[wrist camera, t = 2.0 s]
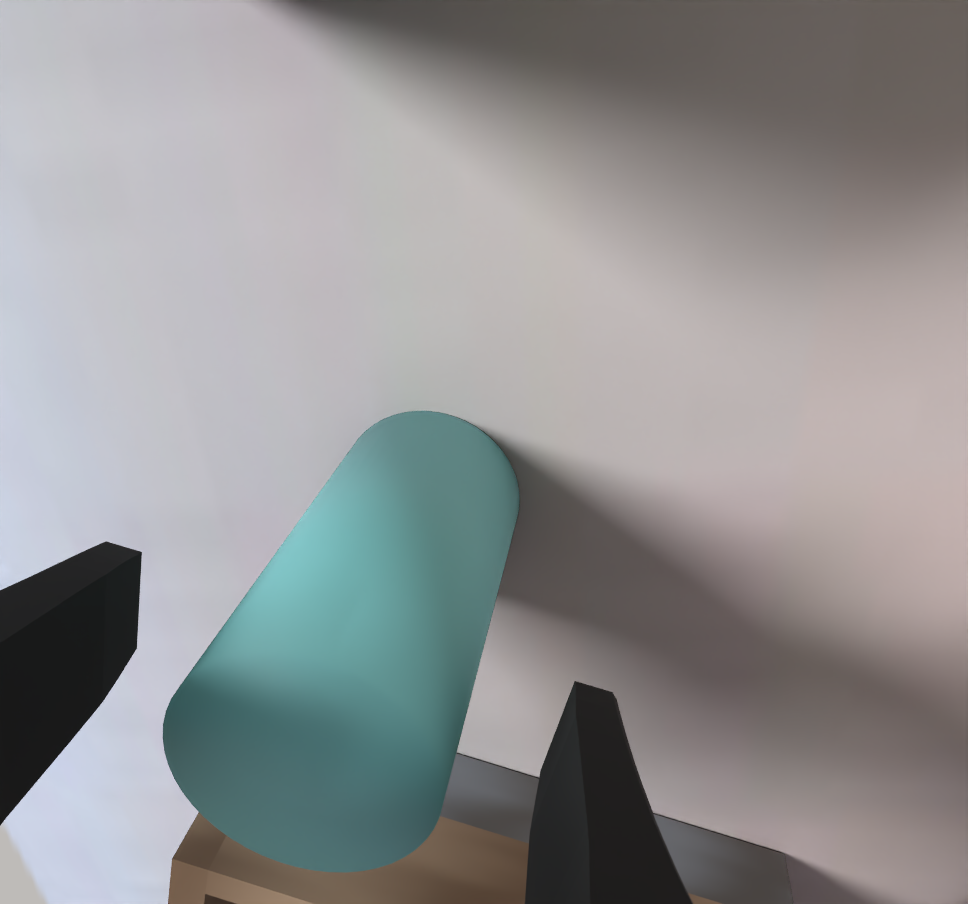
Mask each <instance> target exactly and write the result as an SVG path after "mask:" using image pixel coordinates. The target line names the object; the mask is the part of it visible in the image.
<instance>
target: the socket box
mask: <svg viewBox="0 0 968 904" xmlns="http://www.w3.org/2000/svg"><path fill="white" fill-rule="evenodd" d="M538 783H539V779H538V778H535V777H532V776H528V775H525V774H522V773H519V772H515V771H512V770H509V769H505V768H502V767H499V766H496V765H492V764H489V763H486V762H483V761H479V760H476V759H473V758H470V757H466V756H463V755H460V754H457V753H456V756H455V760H454V764H453V767H452V771H451V775H450V779H449V783H448V787H447V791H446V794H445V798H444V802H443V806H442V810H441V814H440V817H439V819H438V822H437V824H436V826H435V828H434V830H433V831H432V832H431V834H430V835H429V837H428V838H427V839H426V840H425V841H424V842H423V843H422V844H421V845H420V846H419V847H418V848H417V849H416V850H415V851H413V852H412V853H410V854H409V855H407V856H406V857H404V858H402V859H400V860H398V861H396V862H394V863H392V864H389V865H385V866H382V867H379V868H376V869H371V870H365V871H358V872H323V871H314V870H308V869H304V868H299V867H294V866H291V865H288V864H284V863H281V862H278V861H275V860H273V859H270V858H267V857H265V856H262V855H260V854H258V853H256V852H254V851H252V850H250V849H248V848H246V847H244V846H243V845H241V844H239V843H238V842H236V841H234V840H233V839H231V838H230V837H228V836H227V835H225V834H224V833H223V832H221V831H220V830H218V829H217V828H216V827H215V826H214V825H212V824H211V823H210V822H209V821H208V820H207V819H206V818H204V817H203V816H202V814H201V813H200V812H199V813H198V815H197V817H196V818H195V820H194V822H193V824H192V825H191V827H190V829H189V830H188V832H187V834H186V836H185V837H184V839H183V841H182V843H181V844H180V846H179V848H178V850H177V851H176V853H175V855H174V857H173V858H172V867H171V877H170V888H169V899H168V904H525V893H526V878H527V864H528V849H529V835H530V828H531V822H532V816H533V810H534V805H535V799H536V794H537V788H538ZM654 817H655V820H656V822H657V825H658V827H659V829H660V832H661V834H662V837H663V839H664V842H665V844H666V846H667V848H668V851H669V853H670V855H671V858H672V860H673V862H674V864H675V867H676V869H677V871H678V873H679V875H680V877H681V880H682V882H683V884H684V886H685V888H686V890H687V892H688V894H689V896H690V898H691V900H692V902H693V904H793V898H792V893H791V887H790V882H789V876H788V871H787V866H786V860H785V855H784V854H782V853H779V852H776V851H773V850H769V849H766V848H763V847H760V846H756V845H753V844H750V843H747V842H743V841H740V840H737V839H734V838H730V837H727V836H724V835H721V834H717V833H714V832H711V831H707V830H704V829H701V828H698V827H694V826H691V825H688V824H685V823H681V822H678V821H675V820H672V819H668V818H665V817H662V816H659V815H655V814H654Z"/></svg>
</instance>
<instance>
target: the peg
mask: <svg viewBox="0 0 968 904" xmlns="http://www.w3.org/2000/svg"><path fill="white" fill-rule="evenodd" d="M519 503H520V499H519V488H518V483H517V479H516V476H515V473H514V470H513V468H512V466H511V464H510V462H509V460H508V459H507V457H506V456H505V454H504V453H503V451H502V450H501V449H500V448H499V446H498V445H497V444H496V443H495V442H494V441H493V440H492V439H491V438H490V437H489V436H487V435H486V434H485V433H484V432H482V431H481V430H480V429H478V428H477V427H475V426H474V425H472V424H470V423H468V422H466V421H464V420H462V419H459V418H457V417H454V416H451V415H447V414H443V413H439V412H431V411H412V412H404V413H400V414H396V415H393V416H390V417H388V418H385V419H383V420H381V421H379V422H378V423H376V424H374V425H373V426H371V427H370V428H369V429H368V430H366V431H365V432H364V433H363V434H362V435H361V436H360V437H359V439H358V440H357V441H356V443H355V444H354V445H353V447H352V448H351V450H350V451H349V452H348V454H347V455H346V457H345V458H344V459H343V461H342V462H341V463H340V465H339V466H338V468H337V469H336V470H335V472H334V473H333V475H332V476H331V477H330V479H329V480H328V481H327V483H326V484H325V486H324V487H323V488H322V490H321V491H320V493H319V494H318V495H317V497H316V498H315V500H314V501H313V502H312V504H311V505H310V506H309V508H308V509H307V511H306V512H305V513H304V515H303V516H302V518H301V519H300V520H299V522H298V523H297V525H296V526H295V527H294V529H293V530H292V531H291V533H290V534H289V536H288V537H287V538H286V540H285V541H284V543H283V544H282V545H281V547H280V548H279V549H278V551H277V552H276V554H275V555H274V556H273V558H272V559H271V561H270V562H269V563H268V565H267V566H266V568H265V569H264V570H263V572H262V573H261V574H260V576H259V577H258V579H257V580H256V581H255V583H254V584H253V586H252V587H251V588H250V590H249V591H248V592H247V594H246V595H245V597H244V598H243V599H242V601H241V602H240V604H239V605H238V606H237V608H236V609H235V611H234V612H233V613H232V615H231V616H230V617H229V619H228V620H227V622H226V623H225V624H224V626H223V627H222V629H221V630H220V631H219V633H218V634H217V636H216V637H215V638H214V640H213V641H212V642H211V644H210V645H209V647H208V648H207V649H206V651H205V652H204V654H203V655H202V656H201V658H200V659H199V660H198V662H197V663H196V665H195V666H194V667H193V669H192V670H191V672H190V673H189V674H188V676H187V677H186V679H185V680H184V681H183V683H182V684H181V685H180V687H179V688H178V690H177V691H176V693H175V694H174V696H173V697H172V699H171V701H170V703H169V705H168V708H167V710H166V714H165V718H164V723H163V743H164V751H165V755H166V758H167V761H168V765H169V767H170V770H171V772H172V774H173V776H174V779H175V780H176V782H177V784H178V785H179V787H180V789H181V790H182V792H183V793H184V795H185V796H186V797H187V798H188V800H189V801H190V802H191V804H192V805H193V806H194V807H195V808H196V809H197V810H198V811H199V812H200V813H201V814H202V816H203V817H204V818H206V819H207V820H208V821H209V822H210V823H211V824H212V825H214V826H215V827H216V828H217V829H218V830H220V831H221V832H223V833H224V834H225V835H227V836H228V837H230V838H231V839H233V840H234V841H236V842H238V843H239V844H241V845H243V846H244V847H246V848H248V849H250V850H252V851H254V852H256V853H258V854H260V855H262V856H265V857H267V858H270V859H273V860H275V861H278V862H281V863H284V864H288V865H291V866H294V867H299V868H304V869H308V870H314V871H323V872H358V871H365V870H371V869H376V868H379V867H382V866H385V865H389V864H392V863H394V862H396V861H398V860H400V859H402V858H404V857H406V856H407V855H409V854H410V853H412V852H413V851H415V850H416V849H417V848H418V847H419V846H420V845H421V844H422V843H423V842H424V841H425V840H426V839H427V838H428V837H429V835H430V834H431V832H432V831H433V830H434V828H435V826H436V824H437V822H438V819H439V817H440V814H441V810H442V806H443V802H444V798H445V794H446V791H447V787H448V783H449V779H450V775H451V771H452V767H453V764H454V760H455V756H456V752H457V748H458V744H459V740H460V736H461V733H462V729H463V725H464V721H465V717H466V713H467V709H468V706H469V702H470V698H471V694H472V690H473V686H474V682H475V679H476V675H477V671H478V667H479V663H480V659H481V655H482V652H483V648H484V644H485V640H486V636H487V632H488V628H489V625H490V621H491V617H492V613H493V609H494V605H495V601H496V597H497V594H498V590H499V586H500V582H501V578H502V574H503V570H504V567H505V563H506V559H507V555H508V551H509V547H510V543H511V540H512V536H513V532H514V528H515V524H516V520H517V516H518V513H519Z"/></svg>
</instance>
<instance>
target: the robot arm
mask: <svg viewBox="0 0 968 904" xmlns="http://www.w3.org/2000/svg"><path fill="white" fill-rule="evenodd" d="M141 556H142V552H140V551H136V550H133V549H130V548H126V547H123V546H119V545H116V544H113V543H109V542H104V543H101V544H99V545H97V546H95V547H92V548H90V549H88V550H86V551H84V552H81V553H79V554H77V555H75V556H73V557H71V558H69V559H67V560H65V561H62V562H60V563H58V564H56V565H54V566H52V567H50V568H48V569H46V570H44V571H41V572H39V573H37V574H35V575H33V576H31V577H29V578H26V579H24V580H22V581H20V582H18V583H16V584H13V585H11V586H9V587H7V588H5V589H2V590H0V825H1V824H2V822H3V821H4V820H5V819H6V817H7V816H8V815H9V814H10V813H11V811H12V810H13V809H14V808H15V807H16V805H17V804H18V803H19V802H20V801H21V799H22V798H23V797H24V796H25V795H26V793H27V792H28V791H29V790H30V789H31V788H32V786H33V785H34V784H35V783H36V782H37V780H38V779H39V778H40V777H41V776H42V774H43V773H44V772H45V771H46V770H47V768H48V767H49V766H50V765H51V764H52V763H53V761H54V760H55V759H56V758H57V757H58V755H59V754H60V753H61V752H62V751H63V749H64V748H65V747H66V746H67V745H68V743H69V742H70V741H71V740H72V739H73V737H74V736H75V735H76V734H77V733H78V731H79V730H80V729H81V728H82V727H83V725H84V724H85V723H86V722H87V720H88V719H89V718H90V717H91V716H92V714H93V713H94V712H95V711H96V709H97V708H98V707H99V706H100V704H101V703H102V702H103V700H104V699H105V697H106V696H107V694H108V693H109V691H110V690H111V688H112V687H113V685H114V684H115V682H116V681H117V679H118V678H119V676H120V675H121V673H122V671H123V670H124V668H125V666H126V665H127V663H128V662H129V660H130V658H131V657H132V655H133V654H134V652H135V650H136V649H137V633H138V614H139V594H140V575H141ZM525 904H693V902H692V900H691V898H690V896H689V894H688V892H687V890H686V888H685V886H684V884H683V882H682V880H681V877H680V875H679V873H678V871H677V869H676V867H675V864H674V862H673V860H672V858H671V855H670V853H669V851H668V848H667V846H666V844H665V842H664V839H663V837H662V834H661V832H660V829H659V827H658V825H657V822H656V820H655V817H654V814H653V812H652V809H651V806H650V804H649V801H648V798H647V796H646V793H645V790H644V788H643V785H642V782H641V779H640V777H639V774H638V771H637V768H636V765H635V762H634V759H633V755H632V752H631V749H630V746H629V743H628V740H627V736H626V733H625V729H624V726H623V722H622V718H621V715H620V711H619V707H618V703H617V699H616V698H615V696H614V694H613V692H610V691H606V690H603V689H599V688H596V687H593V686H589V685H586V684H583V683H579V682H576V681H575V682H574V685H573V687H572V690H571V693H570V695H569V698H568V701H567V703H566V706H565V708H564V711H563V714H562V716H561V719H560V721H559V724H558V727H557V729H556V732H555V735H554V737H553V740H552V742H551V745H550V748H549V750H548V753H547V755H546V758H545V761H544V763H543V766H542V769H541V772H540V777H539V783H538V788H537V794H536V799H535V805H534V810H533V816H532V822H531V828H530V835H529V849H528V864H527V878H526V893H525Z"/></svg>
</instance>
